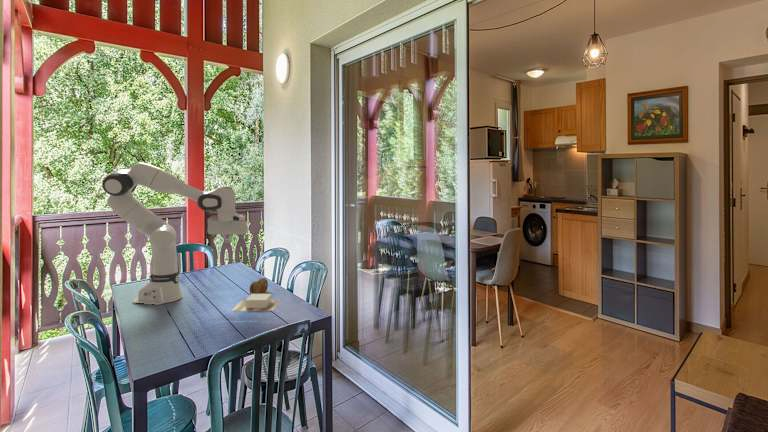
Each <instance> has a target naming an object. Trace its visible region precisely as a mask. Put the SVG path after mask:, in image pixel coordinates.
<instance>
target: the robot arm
mask: <svg viewBox="0 0 768 432" xmlns="http://www.w3.org/2000/svg"><path fill="white" fill-rule="evenodd" d="M101 184H102V189H103V191H104V192H105V193H107V194H108V195H109V196H108V198H107V200H106V202H107V203H106V204H107V206H108V207H109V208H110V209H111V210H112V211H113V212H114V213H115V214H116V215H118V217H120V218H121V219H122V220H123V221H124V222H126V223H127V224H128V225H130V226H131V227H133V229H135V230H136V231H139V232H140V233H142V234H143V235H146V237H148V238H149V240H150V249H151V256H152V269H153V273H152V274H150V275H149V276H148V279H150V281H148V282H147V283H146V284H144V285H143V286H141V288H140V289H139V290H138V293H137V297H136V298H134V299H133V300H132V304H136V303H144V304H143V305H152V304H154V305H155V306H157V305H159V306H160V305H163V304H168V303H172V302H177V301H178V300H181V299H183V293H182V291H181V285H180V273H179V272H180V271H179V265H178V254H177V251H178V250H177V241H176V240H177V232H176V229H175V227H173V226H172V225H171V224H169V223H168V222H167V221H166V220H163V218H162V217H159V216H158V215H157V214H155V213H154V212H152V211H151V210H150V209H149V207H148V208H147V206H145V205H144V204H143V203H142V202H140V201H139V200H137V199H136V197H134V195H133V192H134V191H135V190H136V188H137V186H139V185H140V186H143V187H146V188H148V189H150V190H152V191H155V192H159V193H161V194H170V195H171V194H172V195H179V196H183V197H185V198H187V199H189V200H192V201H195V202H197V203H196V204H197V206H198V207H199V209H200V210H202V211H204V212H212V211H217V216H209V217H208V218H207V234H208V235H222V236H221V237H222V239H223V240H224V243H225V244H231V243H232V239H233V238H234V235H237V236H238V235H239V236H240V235H247V233H248V231H249V229H248V224H247V221H246V216H245V215H243V214H240V213H237V210H236V192H235V189H233V187H229V186H224V185H221V186H218V187H216V188H214V189H212V190H210V191H208V190H207V191H205V190H202V189H199V188H198V187H197V188H196V187H193V186H192V185H189V184H187V183H185V182H183V181H182V180H180V179H179V178H177V177H176V176H175V175H173V174H171V173H170V172H168V171H166V170H164V169H162V168H160V167H157V166H155V165H152V164H150V163H146V162H136V163H134V164H133V165H131V168H129V167H122V168H119V169H116V170H114V171H112V172H111V173H110V174H108V175H106V176H105V177H104V178H103V180H102V182H101ZM227 235H228V237H229V238H227V237H226V236H227Z"/></svg>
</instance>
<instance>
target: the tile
mask: <svg viewBox="0 0 768 432" xmlns="http://www.w3.org/2000/svg"><path fill="white" fill-rule="evenodd" d="M272 300H273V299H272V293H262V294H251V295H250V294H249V295H248V297H246V298H245V300H244V301H245V305H246V308H267V307H268V305H269V304H270V303H271V301H272Z"/></svg>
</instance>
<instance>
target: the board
mask: <svg viewBox="0 0 768 432" xmlns="http://www.w3.org/2000/svg"><path fill="white" fill-rule="evenodd" d="M280 301H281V300H280V299H279V300H277V299H274V300H273V299H272V301H271V303H270V304H269V305H268V307H267V308H246V305H245V300H239V302H238V303H237V304H236V305H235V306H234V307H233V308H232V309H231V310H230V311H231V312H256V311H257V312H264V311H265V312H269V311H270V312H271V311H272V312H273V311H274V310H275V308H276V307H277V305H278V304H279V303H280Z"/></svg>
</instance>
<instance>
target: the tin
mask: <svg viewBox="0 0 768 432" xmlns="http://www.w3.org/2000/svg"><path fill="white" fill-rule="evenodd" d="M268 286H269V282H268V280H267V279H266V278H265V277H262V278H261V277H260V278H258V279H257V280H255V281H253V282H251V284H250V285H249V293H250V294H249V296H250V295H251V294H266V292H267V291H268Z"/></svg>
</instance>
